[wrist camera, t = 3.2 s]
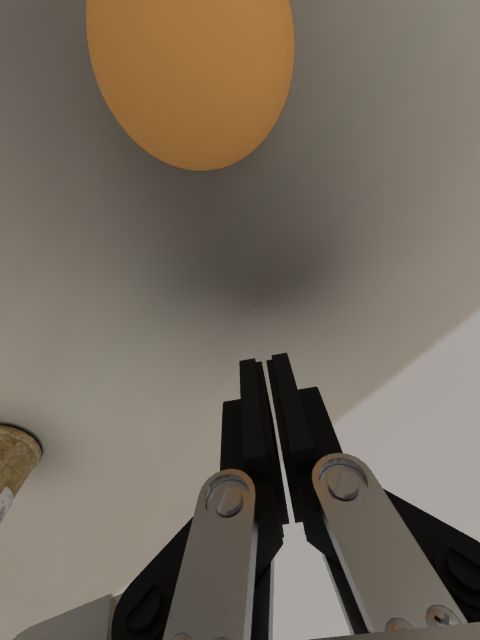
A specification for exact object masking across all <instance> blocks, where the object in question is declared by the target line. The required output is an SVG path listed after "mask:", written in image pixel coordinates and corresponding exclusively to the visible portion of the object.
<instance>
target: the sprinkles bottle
mask: <svg viewBox="0 0 480 640" xmlns="http://www.w3.org/2000/svg"><path fill="white" fill-rule="evenodd" d="M40 458H41V449H40V446H39V445H38V444H37V442H36V441H35V440H34V439H33V438H32V437H31V436H29V435H28V434H26V433H25V432H23V431H20V430H18V429H15V428H13V427H7V426H1V425H0V523H1V521H2V520H3V518H4V516H5V515H6V513H7V512H8V510H9V508H10V507H11V505H12V503H13V499H14V497H15V496H16V494H17V492H18V491H19V489H20V488H21V486H22V485H23V483H24V481H25V480H26V478H27V477H28V475H29V473H30V472H31V470H32V469H33V468H34V467H35V466H36V465H37V464H38V463H39V461H40Z"/></svg>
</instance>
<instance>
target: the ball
mask: <svg viewBox="0 0 480 640" xmlns="http://www.w3.org/2000/svg"><path fill="white" fill-rule="evenodd" d="M86 33H87V43H88V48H89V54H90V59H91V64H92V67H93V71H94V74H95V78H96V80H97V83H98V86H99V88H100V91H101V93H102V95H103V97H104V99H105V101H106V103H107V105H108V107H109V109H110V110H111V112H112V114H113V115H114V117H115V118H116V120H117V121H118V123H119V124H120V125H121V126H122V128H123V129H124V130H125V131H126V133H127V134H128V135H129V136H130V137H131V138H132V139H133V140H134V141H135V142H136V143H137V144H138V145H139V146H140V147H141V148H143V149H144V150H145V151H146V152H148V153H149V154H151V155H152V156H154V157H156V158H157V159H159V160H161V161H163V162H165V163H167V164H170V165H172V166H175V167H179V168H182V169H187V170H194V171H208V170H215V169H220V168H223V167H227V166H229V165H232V164H234V163H236V162H238V161H240V160H241V159H243V158H244V157H246V156H247V155H249V154H250V153H251V152H252V151H254V150H255V149H256V148H257V147H258V146H259V145H260V144H261V143H262V142H263V140H264V139H265V138H266V137H267V136H268V134H269V133H270V131H271V130H272V128H273V127H274V125H275V124H276V122H277V120H278V118H279V116H280V114H281V112H282V110H283V107H284V105H285V102H286V100H287V96H288V93H289V89H290V86H291V81H292V75H293V69H294V57H295V37H294V24H293V16H292V10H291V6H290V2H289V0H87V1H86Z"/></svg>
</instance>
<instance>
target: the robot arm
mask: <svg viewBox="0 0 480 640" xmlns="http://www.w3.org/2000/svg"><path fill="white" fill-rule="evenodd" d="M266 362H267V367H268V373H269V379H270V385H271V391H272V397H273V403H274V409H275V414H276V420H277V426H278V432H279V438H280V444H281V450H282V455H283V461H284V466H285V471H286V476H287V482H288V487H289V492H290V497H291V502H292V507H293V513H294V518H295V523H297V522H303V525H304V531H305V535H306V538H307V541H308V542H309V543H310V544H312V545H313V546H314V547H315V548H317V549H318V550H319V551H320V552H322V555H323V559H324V562H325V564H326V567H327V570H328V572H329V575H330V578H331V581H332V583H333V586H334V589H335V592H336V594H337V597H338V600H339V603H340V605H341V608H342V611H343V613H344V616H345V619H346V622H347V624H348V627H349V630H350V633H351V635H348V636H339V637H330V638H321V639H311V640H480V543H479V542H478V541H476V540H475V539H473V538H471V537H469V536H468V535H466V534H464V533H462V532H460V531H459V530H457V529H455V528H453V527H451V526H450V525H448V524H446V523H444V522H442V521H440V520H439V519H437V518H435V517H433V516H431V515H429V514H428V513H426V512H424V511H422V510H421V509H419V508H417V507H415V506H413V505H411V504H410V503H408V502H406V501H404V500H403V499H401V498H399V497H397V496H395V495H394V494H392V493H390V492H388V491H386V490H385V489H383V488H382V487H381V485H380V484H379V482H378V481H377V479H376V478H375V476H374V474H373V473H372V471H371V470H370V469H369V467H368V466H367V465H366V464H365V463H364V462H363V461H361V460H360V459H358V458H357V457H354V456H351V455H349V454H344V453H343V452H342V450H341V447H340V444H339V442H338V439H337V437H336V434H335V431H334V429H333V426H332V423H331V421H330V418H329V416H328V413H327V410H326V408H325V405H324V402H323V400H322V397H321V395H320V392H319V390H318V388H317V387H311V388H305V389H299V390H298V389H297V386H296V382H295V379H294V375H293V372H292V369H291V365H290V362H289V358H288V355H287V353H282V354H277V355H272V360H266ZM240 393H241V399H238V400H232V401H226V402H224V403H223V413H222V436H221V460H220V472H217V473H215V474H214V475H212V476H211V477H210V478H209V479H208V480H207V481H206V482H205V483H204V485H203V486H202V488H201V491H200V493H199V496H198V500H197V504H196V508H195V512H194V516H193V517H192V518H191V519H190V520H189V522H188V523H187V524H186V525H185V526H184V527H183V528H182V529H181V530H180V531H179V532H178V533H177V534H176V535H175V536H174V538H173V539H172V540H171V541H170V542H169V543H168V544H167V545H166V546H165V547H164V548H163V549H162V550H161V551H160V553H159V554H158V555H157V556H156V557H155V558H154V559H153V560H152V561H151V562H150V563H149V564H148V565H147V566H146V567H145V569H144V570H143V571H142V572H141V573H140V574H139V575H138V576H137V577H136V578H135V579H134V580H133V581H132V582H131V584H130V585H129V586H128V587H127V589H126V590H125V591H124V593H122V594H120V595H117V596H115V597H113V595H112V594H109V595H106V596H104V597H101V598H99V599H97V600H94V601H92V602H89V603H87V604H84V605H82V606H80V607H77V608H75V609H72V610H70V611H67V612H65V613H63V614H60V615H58V616H55V617H53V618H50V619H48V620H46V621H43V622H41V623H38V624H36V625H33V626H31V627H29V628H28V629H26V630H24V631H23V632H21V633H19V634H18V635H17V636H16V637H15V638H14V639H13V640H272V638H273V596H274V556H275V555H276V553H277V552H278V551H279V549H280V548H281V546H282V545H283V539H282V538H283V537H284V534H283V527H282V525H283V524H289V518H288V513H287V505H286V499H285V493H284V486H283V481H282V473H281V467H280V461H279V454H278V448H277V442H276V435H275V429H274V423H273V417H272V412H271V407H270V402H269V397H268V392H267V387H266V382H265V377H264V371H263V366H262V362H256V361H255V358H254V359H248V360H242V361H240Z"/></svg>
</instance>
